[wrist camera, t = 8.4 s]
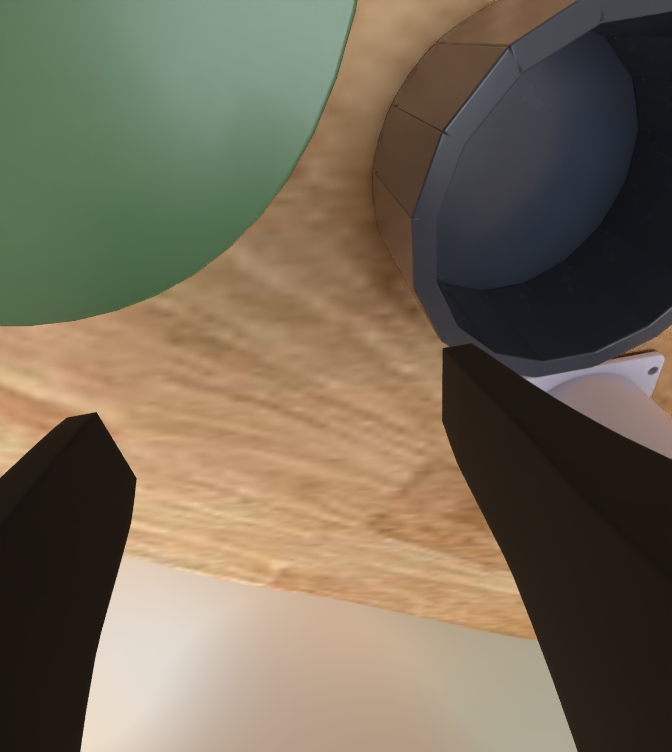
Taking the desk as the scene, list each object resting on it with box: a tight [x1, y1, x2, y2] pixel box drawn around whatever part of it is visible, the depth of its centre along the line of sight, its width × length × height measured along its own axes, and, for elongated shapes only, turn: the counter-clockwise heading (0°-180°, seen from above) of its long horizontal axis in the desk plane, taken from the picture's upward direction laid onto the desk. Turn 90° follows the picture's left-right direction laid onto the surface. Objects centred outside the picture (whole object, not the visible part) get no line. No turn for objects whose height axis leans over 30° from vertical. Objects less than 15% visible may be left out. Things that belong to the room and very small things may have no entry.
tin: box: [373, 0, 672, 378], centre depth 15 cm, size 11×11×6 cm
